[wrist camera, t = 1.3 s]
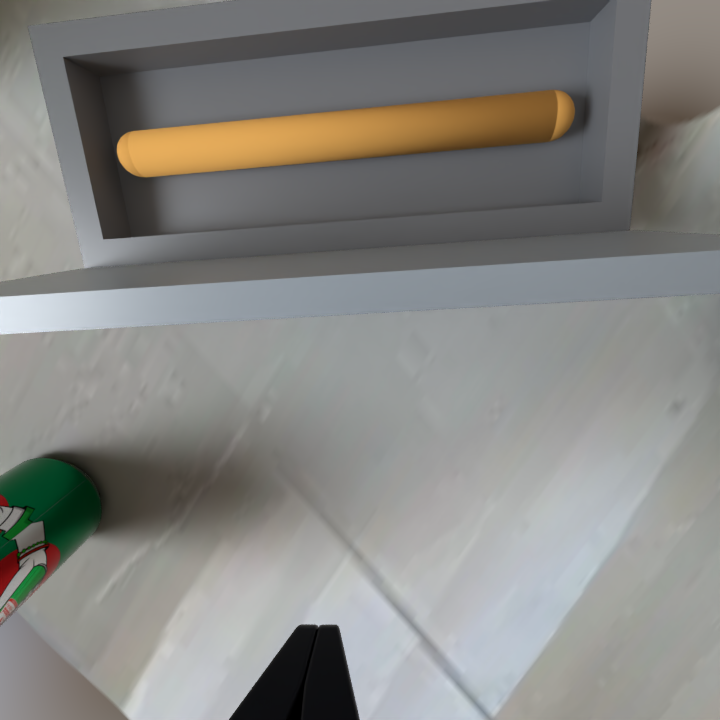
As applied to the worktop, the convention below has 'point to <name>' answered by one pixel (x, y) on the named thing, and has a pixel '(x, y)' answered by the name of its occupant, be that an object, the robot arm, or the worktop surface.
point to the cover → (367, 281)
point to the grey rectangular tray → (336, 93)
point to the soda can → (41, 524)
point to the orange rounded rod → (349, 134)
